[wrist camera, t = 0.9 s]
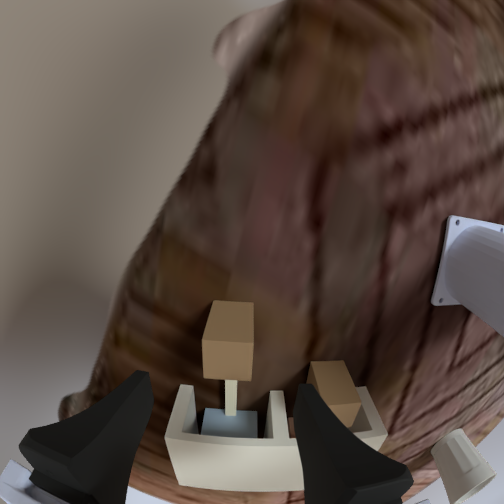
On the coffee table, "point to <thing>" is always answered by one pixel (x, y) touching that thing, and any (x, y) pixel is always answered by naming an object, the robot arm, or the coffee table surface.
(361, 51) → the coffee table surface
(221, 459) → the shelf
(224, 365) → the tan and blue dumbbell
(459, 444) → the cup
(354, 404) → the tan block
